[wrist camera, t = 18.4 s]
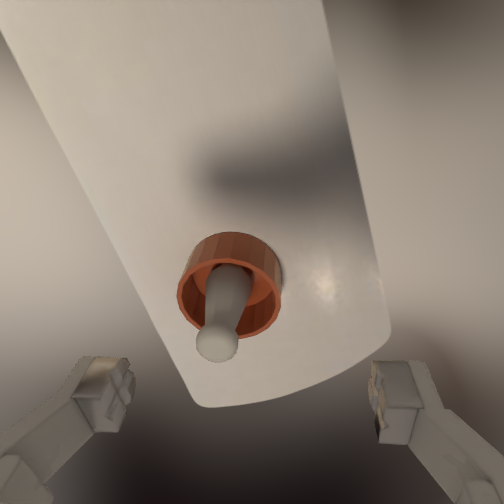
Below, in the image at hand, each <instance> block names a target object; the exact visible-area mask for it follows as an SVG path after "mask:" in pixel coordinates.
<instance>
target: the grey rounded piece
mask: <svg viewBox="0 0 504 504" xmlns="http://www.w3.org/2000/svg"><path fill="white" fill-rule="evenodd" d="M251 290H252V281H251V279H250V277H249V275H248V274H247V273H246V271H245V270H244V269H243V268H242V267H241V266H240V265H237V264H233V263H223V264H222V265H221V266H219V267H217V268H216V269H214V270H212V271H211V273H210V274H209V276H208V277H207V279H206V304H205V325H204V326H203V327H202V328H201V330H200V331H199V332H198V335H197V337H196V349H197V351H198V352H199V354H200V355H201V356H202V357H203V358H205V359H207V360H208V361H212V362H224V361H226V360H229V359H231V358H232V357H233V356H234V355H235V354H236V351H237V349H238V335H237V333H236V331H235V329H236V327H237V324H238V322H239V320H240V317H241V315H242V313H243V311H244V308H245V306H246V304H247V301H248V299H249V297H250V294H251Z"/></svg>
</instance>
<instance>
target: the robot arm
mask: <svg viewBox="0 0 504 504" xmlns="http://www.w3.org/2000/svg"><path fill="white" fill-rule="evenodd" d="M129 366H130V364H129V361H128V359H127V358H118V357H117V358H116V357H90V356H84V357H82V358H81V359H79V361H78V362H77V364H76V365H75V367H74V368H73V370H72V371H71V373H70V375H69V376H68V378H67V379H66V381H65V383H64V384H63V385H62V387H61V389H60V390H59V392H58V393H57V395H56V396H55V398H50V399H48V400H47V401H45V402H44V403H43V404H41V405H40V406H38V407H37V408H36V409H34V410H33V411H31V412H30V413H29V414H27V415H26V416H25V417H23V418H22V419H20V420H19V421H18V422H16V423H15V424H13V425H12V426H11V427H9V428H8V429H6V430H5V431H4V432H2V433H1V434H0V504H51V503H52V500H53V494H52V493H51V492H50V491H49V489H48V488H47V487H46V486H45V483H46V482H47V481H48V480H49V479H50V478H51V477H52V476H53V475H54V473H56V471H58V469H60V468H61V467H62V465H63V464H64V463H65V462H66V461H67V460H68V459H69V458H70V457H71V456H72V455H73V454H74V453H75V452H76V451H77V450H78V449H79V448H80V447H81V446H82V445H83V444H84V443H85V442H86V441H87V440H88V439H89V438H90V437H91V436H92V435H93V434H94V432H119V429H120V427H121V425H122V422H123V420H124V418H125V415H126V410H125V406H126V405H127V404H129V403H130V402H131V401H132V399H133V396H134V394H135V388H136V378H135V375H134V373H133V372H131V371H130V370H129V369H128V368H129ZM371 372H372V376H371V377H369V385H368V386H369V398H370V404H371V408H372V409H373V410H374V411H375V413H376V414H375V420H374V423H375V428H376V432H377V436H378V441H379V443H387V444H401V445H409V446H408V447H409V448H410V449H411V450H412V452H413V453H414V454H415V455H416V457H417V458H418V459H419V460H420V461H421V463H422V464H423V465H424V466H425V468H426V469H427V470H428V471H429V473H430V474H431V475H432V476H433V478H434V479H435V480H436V481H437V483H438V484H439V485H440V486H441V487H442V489H443V490H444V491H445V492H446V493H447V495H448V496H449V497H450V499H451V500H452V501H453V502H454V504H504V456H502V455H501V454H500V453H499V452H498V451H497V450H496V449H495V448H493V447H492V446H491V445H490V444H489V443H488V442H487V441H485V440H484V439H483V438H482V437H481V436H479V434H477V433H476V432H475V431H474V430H473V429H472V428H470V427H469V426H468V425H467V424H466V423H465V422H463V421H462V420H461V419H460V418H459V417H458V416H457V415H456V414H454V413H453V412H452V411H451V410H448V409H444V407H443V404H442V402H441V400H440V397H439V395H438V392H437V390H436V387H435V385H434V382H433V380H432V378H431V375H430V373H429V370H428V368H427V366H426V364H425V363H424V362H423V361H372V363H371Z"/></svg>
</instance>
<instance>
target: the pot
mask: <svg viewBox="0 0 504 504" xmlns="http://www.w3.org/2000/svg"><path fill="white" fill-rule="evenodd" d="M223 263H233V264H237V265H240V266H241V267H242V268H243V269H244V270H245V271H246V273H247V274H248V275H249V277H250V279H251V281H252V290H251V294H250V297H249V299H248V301H247V304H246V306H245V308H244V311H243V313H242V315H241V317H240V320H239V322H238V324H237V327H236V329H235V331H236V333H237V335H238V339H243V338H247V337H251V336H255V335H257V334H259V333H261V332H263V331H264V330H266V329H268V328H269V327H270V326H271V324H272V323H273V322H274V321H275V320H276V319H277V316H278V313H279V311H280V308H281V271H280V265H279V261H278V259H277V257H276V255H275V254H274V252H273V251H272V250H271V249H270V248H269V247H268V246H267V245H266V244H265V243H264V242H262V241H261V240H259V239H257V238H255V237H253V236H250V235H248V234H244V233H238V232H224V233H219V234H215V235H212V236H210V237H208V238H206V239H204V240H203V241H201V242H200V243H199V244H198V245H197V246H196V247H195V249H194V250H193V252H192V254H191V256H190V257H189V259H188V262H187V264H186V267H185V269H184V271H183V274H182V276H181V279H180V281H179V284H178V290H177V300H178V304H179V308H180V310H181V312H182V313H183V315H184V316H185V318H186V319H187V320H188V321H189V322H190V323H191V324H193V325H194V326H195V327H196V328H197V329H199V330H201V328H202V327H203V326H204V325H205V304H206V279H207V277H208V276H209V274H210V273H211V271H212V270H214V269H216V268H217V267H219V266H221V265H222V264H223Z"/></svg>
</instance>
